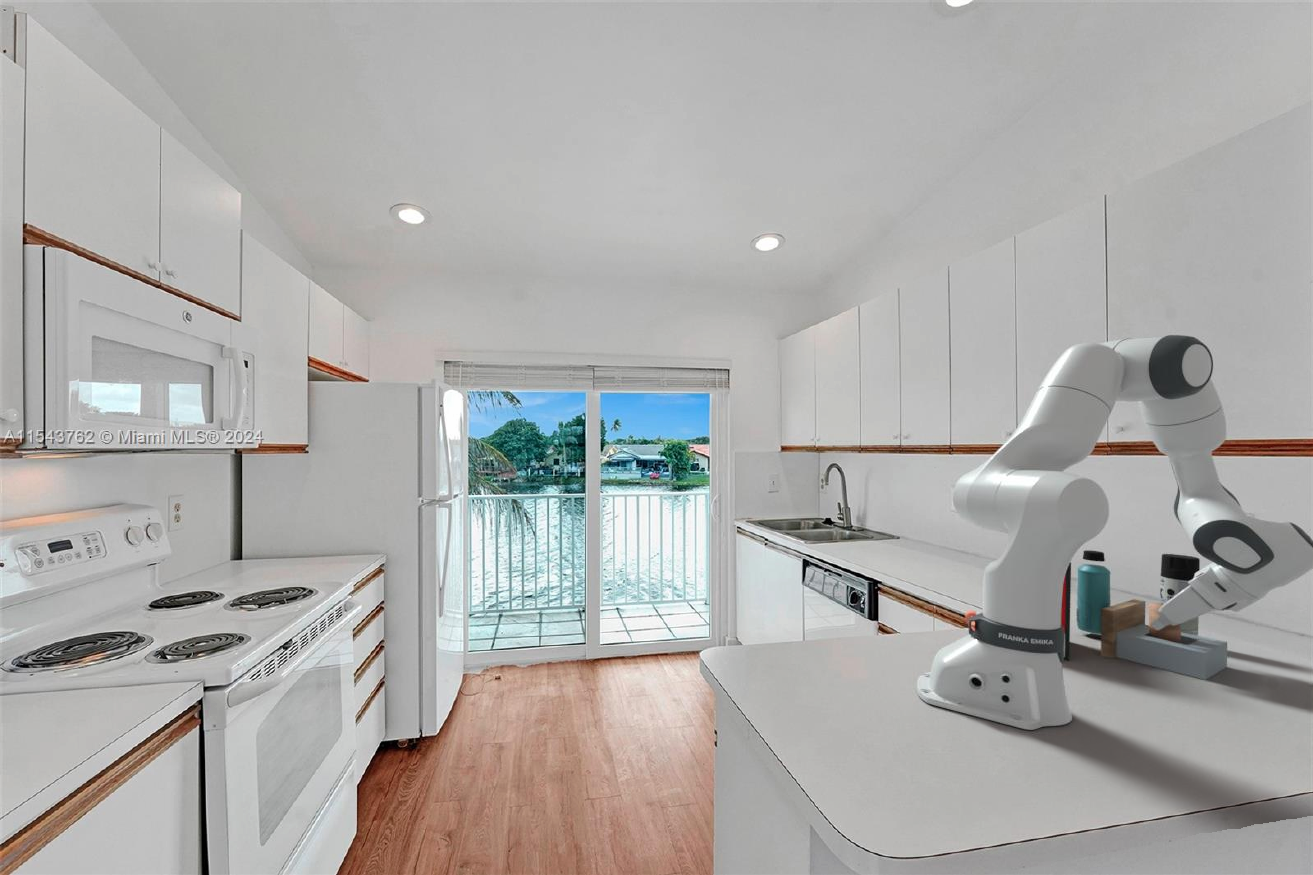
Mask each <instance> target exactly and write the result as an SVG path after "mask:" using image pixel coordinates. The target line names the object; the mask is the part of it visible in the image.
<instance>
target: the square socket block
mask: <svg viewBox="0 0 1313 875" xmlns="http://www.w3.org/2000/svg"><path fill="white" fill-rule="evenodd" d="M1116 658H1119V659H1123V660H1127V661H1130V662H1135V663H1138V664H1142V665H1146V666H1150V667H1155V668H1157V669H1161V670H1165V671H1169V672H1173V673H1177V674H1181V675H1185V676H1188V677H1192V678H1197V679H1200V680H1204V681H1205V680H1207V679H1209V678H1210V677H1211V678H1212V676H1214V675H1216V674H1217V673H1220V672H1221V671H1222V670H1224V669H1226V668H1228V641H1223V640H1220V639H1216V638H1209V637H1206V636H1202V635H1201V636H1200V635H1198V636H1196V635H1192V634H1187V633H1182V632H1181V643H1176V642H1172V641H1167V640H1163V639H1159V638H1154V637H1150V636H1149V624H1146V623H1145V624H1140V625H1137V626H1135V627H1132V628H1129V629H1126V630H1124V631H1121V632H1118V633H1117V644H1116Z"/></svg>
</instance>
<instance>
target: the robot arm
mask: <svg viewBox="0 0 1313 875" xmlns="http://www.w3.org/2000/svg"><path fill="white" fill-rule="evenodd" d="M1213 359H1214V358H1213V355H1212V353H1211V351H1210V349H1209V347H1208V346H1207V345H1206V344H1205V343H1204V342H1202V341H1201V340H1199V339H1198V338H1196V337H1194V336H1191V335H1181V334H1178V335H1177V334H1169V335H1165V336H1155V337H1153V336H1150V337H1135V338H1133V337H1128V338H1127V337H1126V338H1119V339H1114V340H1108V341H1104V342H1099V343H1097V342H1083V343H1077V344H1074V345H1072V346H1070V347H1068V348H1067V349H1065V351H1064V352H1062V353H1061V355H1060V356H1059V357H1058V358H1057V360H1056V361H1055V362H1054V364H1053V365H1052V366H1051V368H1050V369H1049V371H1048V372H1047V373H1046V375H1045V377H1044V378H1043V380H1042V382H1040V385H1039V387H1038V389H1037V391H1036V393H1035V394H1034V396H1033V398H1032V399H1031V403H1030V404H1029V406H1028V408H1027V409H1026V412H1025V413H1024V415H1023V416H1022V419H1021V421H1020V423H1019V424H1018V426H1017V427H1016V429H1015V430H1014V431H1013V433H1012V434H1011V435H1010V436H1009V438H1008V439H1007V440H1006V441H1004V443H1003V444H1002V445H1001V447H999V448H998V450H996V451H995V452H994V453H993V454H992V455H991V456H990V457H989V458H988V459H987V460H986V461H985V462H983V463H981V465H979V466H977V467H976V468H974V469H972V470H971V471H969V472H967V473H965V474H963V475H962V476H960V478H959V479H958V480H957V482H955V486H954V488H953V493H952V502H953V506H954V509H955V511H956V513H957V514H958V515H959V516H960V517H961V518H962V519H964V520H965V521H967V522H969V523H970V524H972V525H974V526H977V527H979V528H982V529H985V530H987V531H993V532H994V531H995V532H998V533H1004V534H1008V540H1007V543H1006V546H1005V549H1004V550H1003V553H1002V554H1001V556H1000V557H999V558H997V559H995V560H993V561H991V562H990V563H988V564H987V565H986V566H985V568H984V570H983V573H982V574H983V575H982V577H983V581H982V582H983V584H982V612H981V613H978V614H977V612H976V611H974V610H968V611H967V612H966V613H965V615H964V616H965V621H966V622H967V623H968V634H967V635H965V636H963V637H962V638H960V639H957V640H955V641H953V642H951V643H950V644H948V645H945V646H943V647H942V648H941V649H939V650H938V651H937V652H936V654H935V656H934V658H933V661H932V664H931V669H930V671H929V672H928V671H927V672H924V673H923V674H921V675H919V677H918V678H917V681H916V694H917V695H918V696H919V698H920V699H921V700H922V701H924V702H925V703H927V704H929V705H933V706H937V707H940V708H944V709H948V710H951V711H955V712H960V713H963V714H967V715H970V716H972V717H973V716H974V717H977V718H982V719H985V720H989V721H993V722H997V723H1000V724H1004V725H1008V726H1012V727H1016V728H1018V729H1022V730H1026V731H1027V730H1028V731H1030V730H1031V731H1032V730H1033V731H1034V730H1037V729H1039V728H1043V727H1056V726H1063V725H1066V724H1069V723H1070V722H1071V721H1072V720H1073V714H1072V712H1071V710H1070V709H1071V708H1070V705H1069V702H1068V697H1067V693H1066V688H1065V680H1064V674H1063V673H1064V671H1063V662H1064V661H1065V660H1064V657H1065V633H1064V628H1063V627H1062V625H1061V610H1062V593H1063V582H1064V578H1065V574H1066V571H1067V568H1068V566H1069V563H1070V562H1071V561H1072V559H1073V557H1074V556H1075V554H1076V553H1077V552H1078V550H1080V548H1081V547H1082V546H1083V545H1085V544H1086V543H1087V542H1089V541H1091V540H1092V539H1094V538H1096V537H1097V536H1098V535H1099V534H1100V533H1102V531H1103V530H1104V529H1105V526H1106V525H1107V522H1108V520H1109V517H1110V506H1109V505H1110V503H1109V500H1108V497H1107V494H1106V493H1105V491H1104V490H1103V488H1102V487H1101V485H1099V484H1098V483H1097V482H1096V481H1095V480H1092V479H1090V478H1087V477H1083V476H1080V475H1077V474H1073V473H1068V472H1065V470H1067V469H1069V468H1071V467H1072V466H1074V465H1077V464H1079V463H1081V462H1082V461H1084V460H1085V459H1087V458H1088V457H1089V456H1090V455H1091V454H1092V452H1093V451H1094V449H1095V446H1096V444H1097V442H1098V440H1099V439H1100V436H1101V434H1102V432H1103V430H1104V428H1105V426H1106V424H1107V422H1108V420H1109V418H1110V415H1111V414H1112V411H1113V409H1114V406H1115V404H1116V401H1117V402H1121V401H1122V402H1130V403H1131V402H1137V403H1138V408H1139V412H1140V414H1141V417H1142V421H1143V424H1144V427H1145V428H1146V431H1147V433H1148V435H1149V437H1150V439H1151V441H1152V443H1153V444H1154V445H1155V447H1156V448H1157V450H1158V451H1159V452H1160V453H1161V454H1163V455H1165V456H1167V458H1168V459H1169V461H1170V465H1171V468H1172V471H1173V475H1174V478H1175V481H1176V484H1177V492H1176V496H1175V500H1174V504H1173V513H1174V516H1175V518H1176V520H1177V521H1178V522H1179V523H1180V525H1181V527H1182V528H1183V530H1184V533H1185V535H1186V536H1187V538H1188V540H1189V542H1190V543H1191V546H1192V547H1193V548H1194V550H1195V551H1196V552H1197V553H1198V554H1200V555H1201V556H1202V557H1203V558H1204V559H1206V560H1208V561H1210V562H1211V563H1209V564H1207V565H1206V566H1204V567H1202V568H1201V569H1200V570H1199V571H1198V572H1196V573H1195V576H1194V578H1193V579H1192V580H1190V581H1189V582H1188V584H1189V586H1188V587H1186V588H1185V589H1183V590H1182V591H1181V592H1179V593H1178V594H1177V595H1175V596H1174V597H1173V598H1171V599H1170V600H1169V601H1168V602H1166V603H1165V604H1164V605H1163V606H1161V607H1160V608H1159V610H1158V612H1159V613H1160V615H1161V616H1160V617H1158V618H1157V619H1156V620H1154V621H1152V622H1151V625H1152V626H1153V627H1154V629H1156V630H1160V629H1162V628H1164V627H1166V626H1168V625H1170V624H1171V625H1173V626H1175V625H1178V624H1181V623H1183V622H1186V621H1188V620H1191V619H1193V618H1196V617H1198V616H1199V617H1201V616H1202V615H1203V616H1204V615H1205V614H1208V613H1211V612H1216V611H1218V612H1219V611H1232V612H1234V613H1235V612H1237V613H1238V612H1240V611H1241V610H1243V609H1245V608H1247V607H1249V606H1251V605H1252V604H1254V603H1257V601H1260V600H1261V599H1263V598H1265V597H1266V595H1267V594H1268V593H1270V592H1271V591H1273V590H1274V589H1276V588H1277V589H1278V588H1280V587H1281V588H1282V587H1285V586H1287V585H1289V584H1290V583H1292V582H1294V581H1295V580H1297V579H1300V578H1301V577H1302V576H1304V575H1306V574H1307V573H1308V572H1310V571H1311V570H1312V569H1313V539H1312V538H1311V537H1310V535H1309V534H1308V533H1306V532H1305V531H1304V530H1303V529H1302V528H1301V527H1300V526H1298V525H1297V524H1296V523H1293V522H1291V521H1287V522H1286V521H1285V522H1277V521H1268V520H1263V519H1259V518H1255V517H1251V516H1250V515H1247V514H1246V513H1245V511H1244V510H1243V508H1242V507H1241V504H1240V502H1239V501H1238V499H1237V497H1236V496H1235V495H1234V494H1233V493H1232V492H1231V491H1229V490H1228V489H1227V488H1226V487H1225V486H1224V485H1223V484H1222V483H1221V481H1220V478H1219V476H1218V475H1219V474H1218V472H1217V469H1216V465H1215V462H1214V458H1213V455H1212V453H1213V451H1215V450H1217V449H1218V448H1219V447H1221V445H1223V443H1224V442H1225V441H1226V440H1227V423H1226V422H1227V421H1226V416H1225V412H1224V408H1223V405H1222V402H1221V399H1220V397H1219V396H1220V395H1219V393H1218V391H1217V390H1216V387H1215V384H1214V383H1213V381H1212V379H1211V378H1212V375H1213V370H1214V360H1213Z"/></svg>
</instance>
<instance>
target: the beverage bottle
mask: <svg viewBox="0 0 1313 875" xmlns="http://www.w3.org/2000/svg"><path fill="white" fill-rule="evenodd" d="M1082 555H1083V556H1082V559H1083V560H1086V561H1091V562H1100V563H1101V562H1105V561H1106V560H1105V559H1106V558H1105V552H1103V551H1097V550H1090V549H1089V550H1087V549H1086V550H1083V554H1082ZM1076 591H1077V592H1076V593H1077V597H1076V598H1077V599H1076V606H1077V607H1076V626H1077V629H1078V630H1080V631H1083V632H1085V633H1091V634H1096V635H1101V628H1102V609H1103V608H1106V607H1109V606H1112V604H1111V570H1109V569H1108V568H1107V567H1106V566H1103V565H1098V564H1089V563H1083V564H1081V565H1080V566H1078V568H1077V589H1076Z"/></svg>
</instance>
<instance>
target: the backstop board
mask: <svg viewBox="0 0 1313 875" xmlns="http://www.w3.org/2000/svg"><path fill="white" fill-rule="evenodd" d="M1140 624H1145V625H1146V601H1145V600H1141V599H1136V598H1134V599H1130V600H1127V601H1124V602H1121V603H1117V604H1113V605H1110V606H1109V607H1106V608H1103V609H1102V628H1101V634H1100V636H1101V641H1100V656H1101V657H1104V658H1108V659H1112V660H1113V659H1116V658H1117V657H1116V644H1117V633H1118V632H1121V631H1124V630H1126V629H1129V628H1132V627H1135V626H1137V625H1140Z"/></svg>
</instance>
